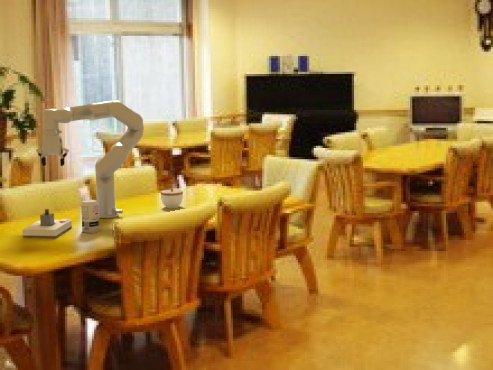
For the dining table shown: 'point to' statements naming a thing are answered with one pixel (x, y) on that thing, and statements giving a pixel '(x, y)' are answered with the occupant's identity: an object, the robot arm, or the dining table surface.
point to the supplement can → (90, 216)
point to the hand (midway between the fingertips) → (53, 165)
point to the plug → (47, 218)
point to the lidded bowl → (172, 198)
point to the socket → (47, 229)
